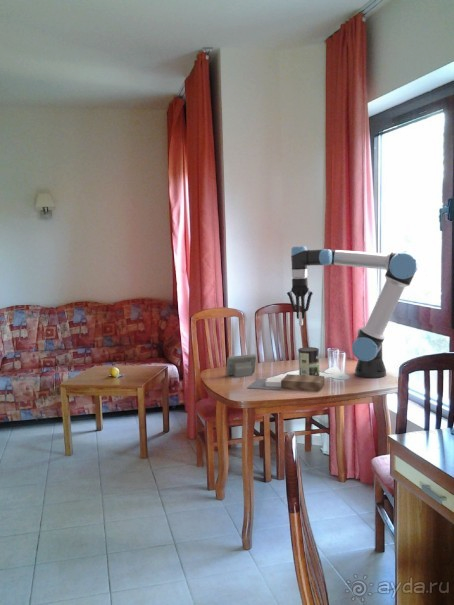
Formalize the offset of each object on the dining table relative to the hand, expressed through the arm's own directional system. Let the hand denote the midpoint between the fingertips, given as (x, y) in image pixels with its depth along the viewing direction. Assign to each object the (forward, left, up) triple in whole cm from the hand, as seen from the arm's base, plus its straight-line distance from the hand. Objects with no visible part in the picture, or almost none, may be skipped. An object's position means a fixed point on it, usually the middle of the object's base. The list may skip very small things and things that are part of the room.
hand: (301, 325), depth 262 cm
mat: (+13, +17, -26) cm, 34 cm away
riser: (-4, +17, -26) cm, 32 cm away
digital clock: (+32, +1, -27) cm, 42 cm away
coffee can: (-3, -2, -27) cm, 27 cm away
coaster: (+9, +17, -26) cm, 32 cm away
